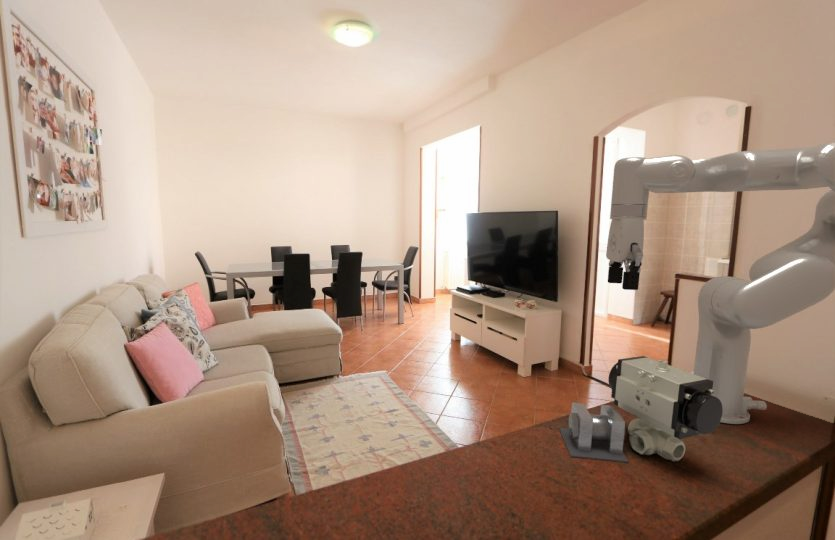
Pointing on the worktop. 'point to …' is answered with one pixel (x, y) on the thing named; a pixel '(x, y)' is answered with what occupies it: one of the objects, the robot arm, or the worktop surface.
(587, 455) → the joint mat
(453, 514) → the worktop surface
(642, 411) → the ball valve
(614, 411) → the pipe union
